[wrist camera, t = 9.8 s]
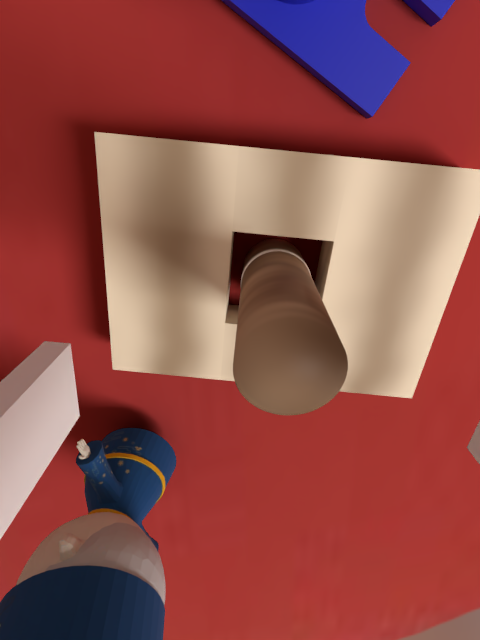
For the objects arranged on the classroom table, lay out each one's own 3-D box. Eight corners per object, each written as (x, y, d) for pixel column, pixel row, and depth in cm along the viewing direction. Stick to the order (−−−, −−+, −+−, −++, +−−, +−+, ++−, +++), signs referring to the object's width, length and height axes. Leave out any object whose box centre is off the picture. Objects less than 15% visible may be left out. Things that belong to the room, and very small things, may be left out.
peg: (239, 294, 24) (227, 411, 13) (245, 234, 22) (236, 311, 11) (299, 300, 24) (335, 421, 13) (309, 241, 22) (362, 323, 11)
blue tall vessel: (72, 386, 28) (-265, 816, 10) (184, 363, 27) (36, 809, 8) (133, 497, 33) (-13, 910, 15) (229, 482, 32) (197, 916, 14)
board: (127, 347, 26) (112, 369, 23) (115, 134, 20) (94, 131, 17) (395, 372, 26) (411, 398, 23) (463, 169, 20) (495, 171, 18)
